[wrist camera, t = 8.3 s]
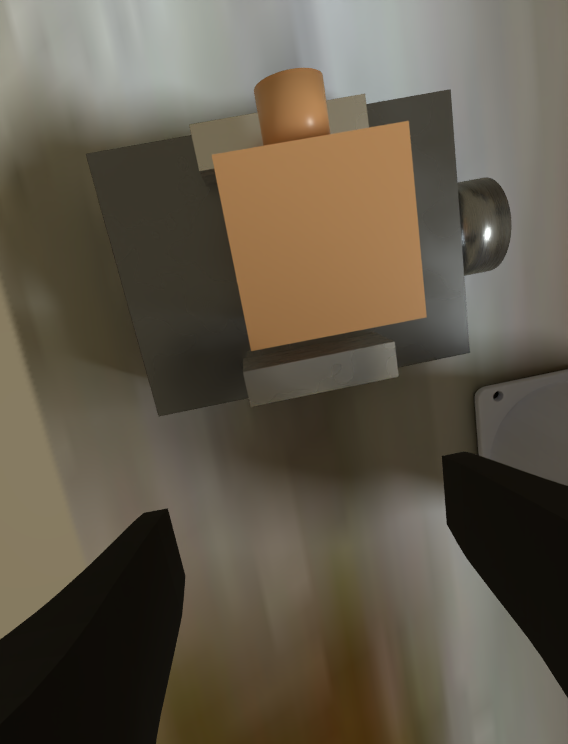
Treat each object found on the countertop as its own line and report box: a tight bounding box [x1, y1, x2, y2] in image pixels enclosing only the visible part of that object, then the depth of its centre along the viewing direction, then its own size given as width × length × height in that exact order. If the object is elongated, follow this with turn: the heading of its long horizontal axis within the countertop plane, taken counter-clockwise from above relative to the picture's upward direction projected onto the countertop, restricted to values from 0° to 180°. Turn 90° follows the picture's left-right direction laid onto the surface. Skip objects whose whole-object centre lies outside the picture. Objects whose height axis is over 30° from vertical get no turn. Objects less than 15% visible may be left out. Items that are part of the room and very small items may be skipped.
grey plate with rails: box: [86, 89, 511, 416], centre depth 16 cm, size 14×9×6 cm, turn 100°
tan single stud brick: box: [212, 68, 427, 351], centre depth 12 cm, size 4×6×6 cm
